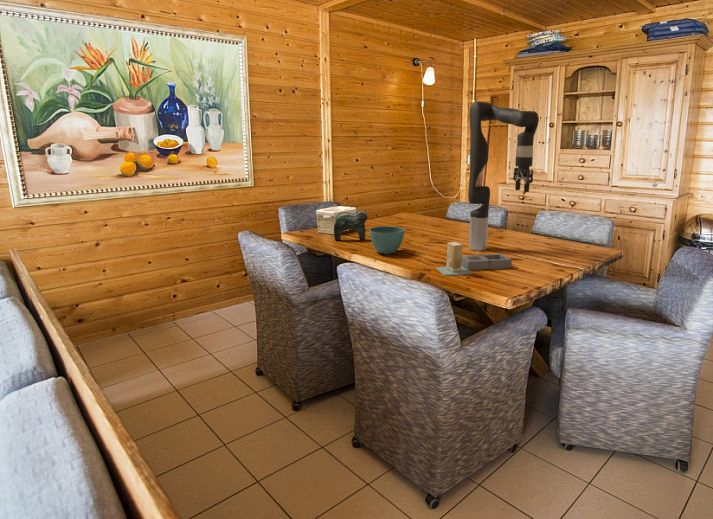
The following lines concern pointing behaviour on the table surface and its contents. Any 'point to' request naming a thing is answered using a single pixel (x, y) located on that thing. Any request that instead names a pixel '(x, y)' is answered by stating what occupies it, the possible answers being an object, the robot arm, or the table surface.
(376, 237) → the teal bowl
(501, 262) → the slotted holder
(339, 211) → the storage basket
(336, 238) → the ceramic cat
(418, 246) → the table surface
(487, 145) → the robot arm
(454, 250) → the skincare box
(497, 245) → the table surface
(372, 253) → the table surface
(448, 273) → the tile
